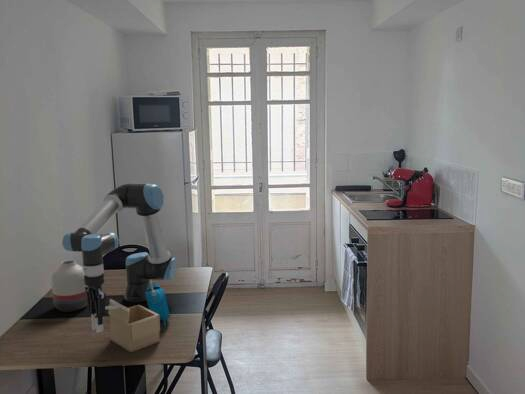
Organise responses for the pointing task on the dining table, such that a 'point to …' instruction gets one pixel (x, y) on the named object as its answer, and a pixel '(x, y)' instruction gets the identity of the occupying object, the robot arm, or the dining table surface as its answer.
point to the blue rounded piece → (157, 301)
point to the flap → (118, 311)
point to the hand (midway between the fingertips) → (97, 330)
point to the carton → (136, 329)
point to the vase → (69, 287)
